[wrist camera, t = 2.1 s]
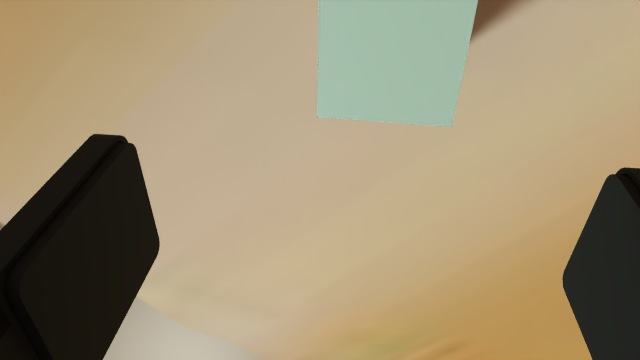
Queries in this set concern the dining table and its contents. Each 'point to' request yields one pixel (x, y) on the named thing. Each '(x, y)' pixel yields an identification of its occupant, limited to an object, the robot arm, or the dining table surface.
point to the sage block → (392, 59)
